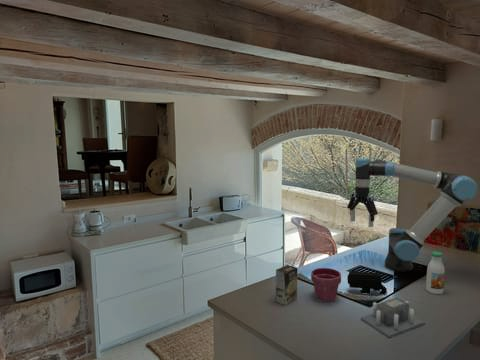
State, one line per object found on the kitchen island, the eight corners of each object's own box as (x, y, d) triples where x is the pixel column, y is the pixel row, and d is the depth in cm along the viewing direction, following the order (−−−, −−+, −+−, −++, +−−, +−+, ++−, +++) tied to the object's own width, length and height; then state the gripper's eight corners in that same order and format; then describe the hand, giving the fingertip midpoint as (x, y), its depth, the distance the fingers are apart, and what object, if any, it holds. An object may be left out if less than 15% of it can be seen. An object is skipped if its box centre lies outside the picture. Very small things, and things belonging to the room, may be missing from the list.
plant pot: (316, 288, 179) (316, 265, 177) (343, 294, 172) (344, 270, 170) (307, 300, 167) (307, 275, 165) (336, 307, 160) (336, 281, 158)
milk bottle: (423, 291, 173) (425, 253, 170) (428, 286, 179) (430, 249, 176) (441, 296, 168) (443, 256, 165) (445, 290, 173) (447, 252, 171)
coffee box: (286, 305, 162) (285, 273, 160) (275, 301, 167) (275, 269, 165) (297, 299, 169) (297, 267, 167) (287, 294, 173) (287, 264, 171)
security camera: (387, 297, 168) (388, 277, 167) (348, 294, 172) (348, 275, 170) (385, 290, 175) (385, 272, 173) (346, 288, 179) (347, 270, 177)
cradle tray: (395, 307, 158) (395, 293, 157) (425, 324, 145) (426, 308, 144) (360, 319, 149) (361, 304, 148) (388, 337, 136) (389, 321, 135)
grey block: (396, 312, 152) (397, 297, 151) (408, 319, 147) (408, 303, 146) (376, 319, 147) (376, 304, 146) (387, 326, 142) (388, 310, 141)
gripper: (341, 184, 199) (340, 219, 202) (375, 190, 177) (373, 230, 180) (351, 182, 203) (350, 218, 206) (385, 188, 180) (384, 228, 183)
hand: (361, 224), depth 193 cm, fingers open, 13 cm apart
